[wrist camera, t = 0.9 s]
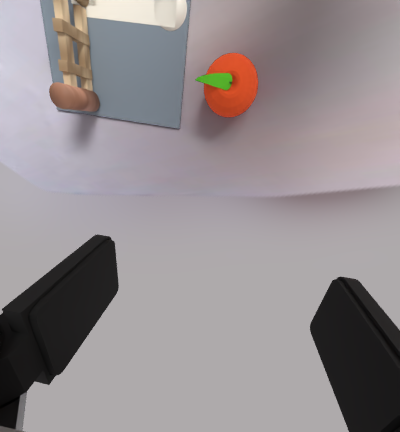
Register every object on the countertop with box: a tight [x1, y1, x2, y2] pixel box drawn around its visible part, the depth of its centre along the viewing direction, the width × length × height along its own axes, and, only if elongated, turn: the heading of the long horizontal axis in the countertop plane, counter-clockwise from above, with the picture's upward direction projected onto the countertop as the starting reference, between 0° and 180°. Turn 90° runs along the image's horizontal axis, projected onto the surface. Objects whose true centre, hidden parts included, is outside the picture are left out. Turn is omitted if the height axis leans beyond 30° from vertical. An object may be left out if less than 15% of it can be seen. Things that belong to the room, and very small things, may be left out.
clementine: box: [196, 53, 258, 117], centre depth 26 cm, size 8×7×7 cm
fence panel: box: [49, 0, 100, 112], centre depth 27 cm, size 12×3×6 cm, turn 172°
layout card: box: [40, 0, 191, 129], centre depth 26 cm, size 28×21×1 cm
